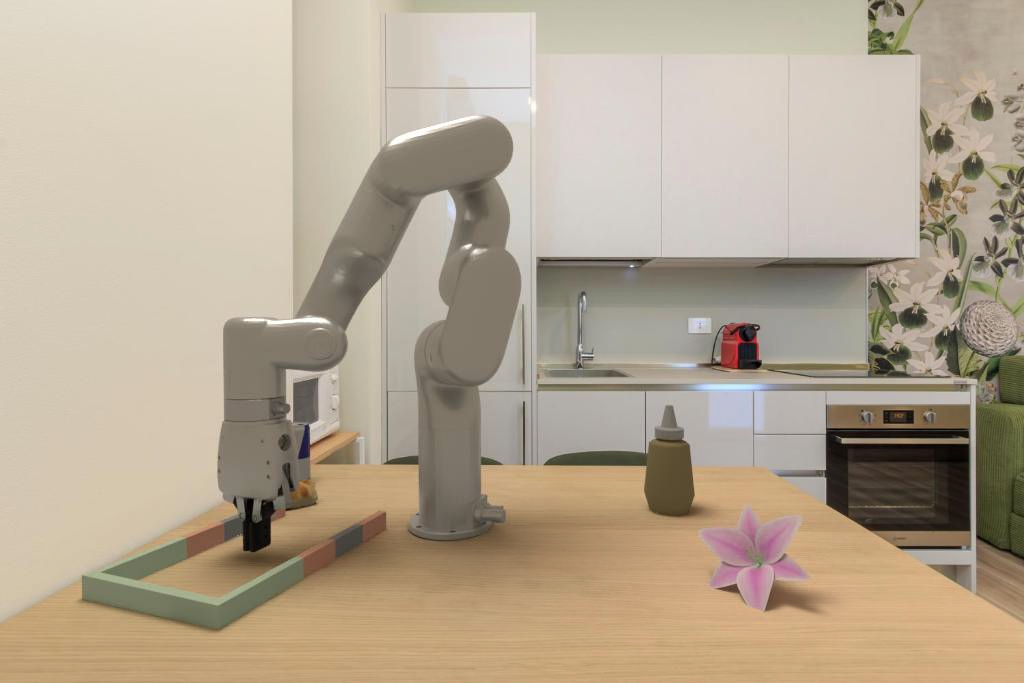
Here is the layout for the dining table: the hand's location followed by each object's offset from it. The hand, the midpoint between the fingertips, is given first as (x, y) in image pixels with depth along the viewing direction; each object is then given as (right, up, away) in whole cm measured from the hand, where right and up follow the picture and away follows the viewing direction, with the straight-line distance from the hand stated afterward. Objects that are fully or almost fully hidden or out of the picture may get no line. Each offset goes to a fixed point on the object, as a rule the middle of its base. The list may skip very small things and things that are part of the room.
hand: (257, 547), depth 73 cm
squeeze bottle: (+60, -1, +17) cm, 62 cm away
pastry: (-8, -2, +23) cm, 24 cm away
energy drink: (-9, -1, +36) cm, 37 cm away
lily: (+63, -2, -9) cm, 63 cm away
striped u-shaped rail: (0, -2, 0) cm, 2 cm away
